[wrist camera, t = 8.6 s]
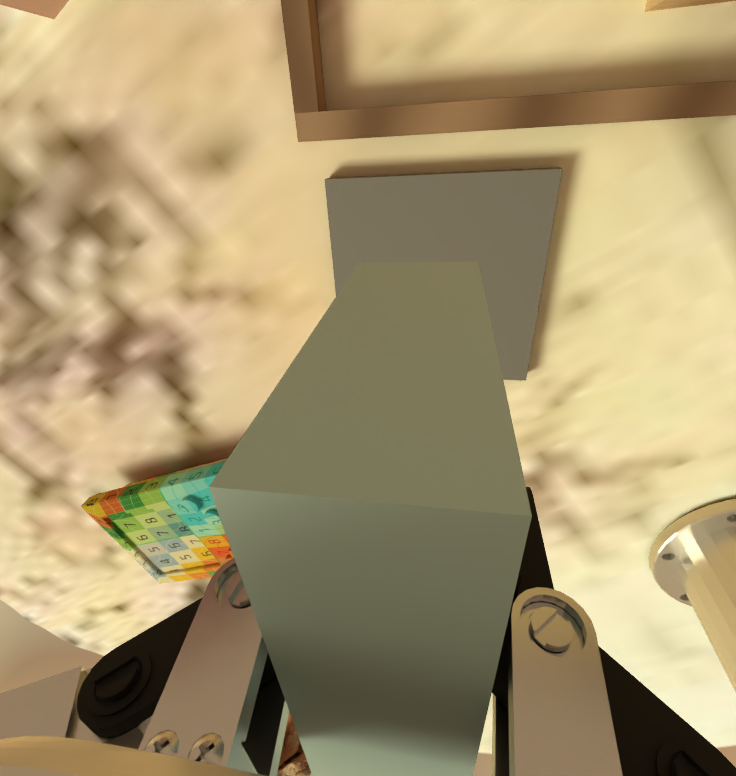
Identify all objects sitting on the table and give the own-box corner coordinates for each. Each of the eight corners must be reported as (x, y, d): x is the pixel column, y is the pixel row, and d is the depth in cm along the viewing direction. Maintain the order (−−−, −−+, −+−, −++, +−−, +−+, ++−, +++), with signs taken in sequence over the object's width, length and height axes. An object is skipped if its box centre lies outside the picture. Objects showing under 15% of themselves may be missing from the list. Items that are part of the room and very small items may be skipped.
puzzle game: (323, 570, 35) (154, 591, 42) (336, 525, 39) (180, 552, 46) (251, 470, 30) (73, 513, 37) (274, 431, 34) (109, 477, 41)
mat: (558, 167, 21) (562, 168, 20) (524, 374, 27) (525, 380, 26) (328, 178, 23) (324, 179, 22) (346, 367, 29) (343, 373, 28)
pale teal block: (477, 261, 10) (532, 514, 4) (454, 530, 15) (458, 835, 9) (359, 262, 11) (208, 486, 4) (376, 522, 16) (322, 805, 9)
